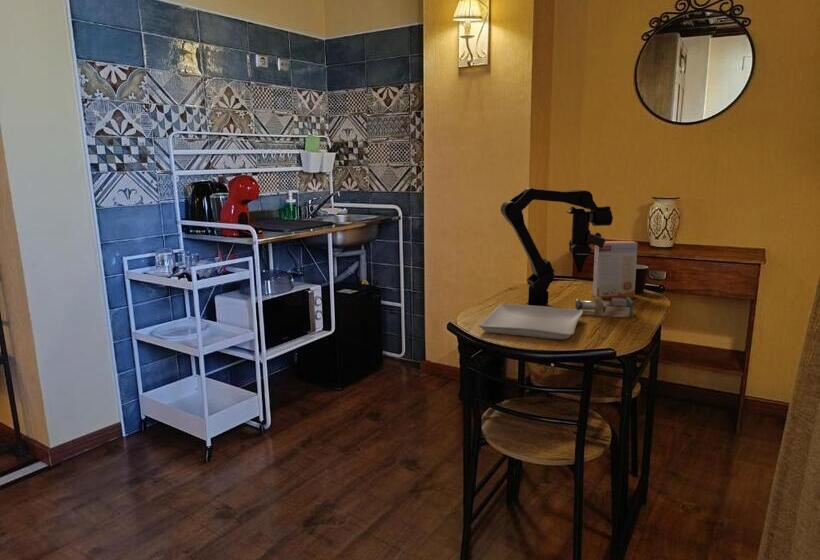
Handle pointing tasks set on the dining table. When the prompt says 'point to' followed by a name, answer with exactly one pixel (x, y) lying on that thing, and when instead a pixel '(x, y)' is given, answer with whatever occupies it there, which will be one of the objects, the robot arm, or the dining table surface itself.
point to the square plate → (532, 321)
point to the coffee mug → (640, 278)
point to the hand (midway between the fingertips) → (578, 270)
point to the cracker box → (615, 269)
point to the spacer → (619, 302)
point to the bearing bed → (610, 309)
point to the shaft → (590, 305)
